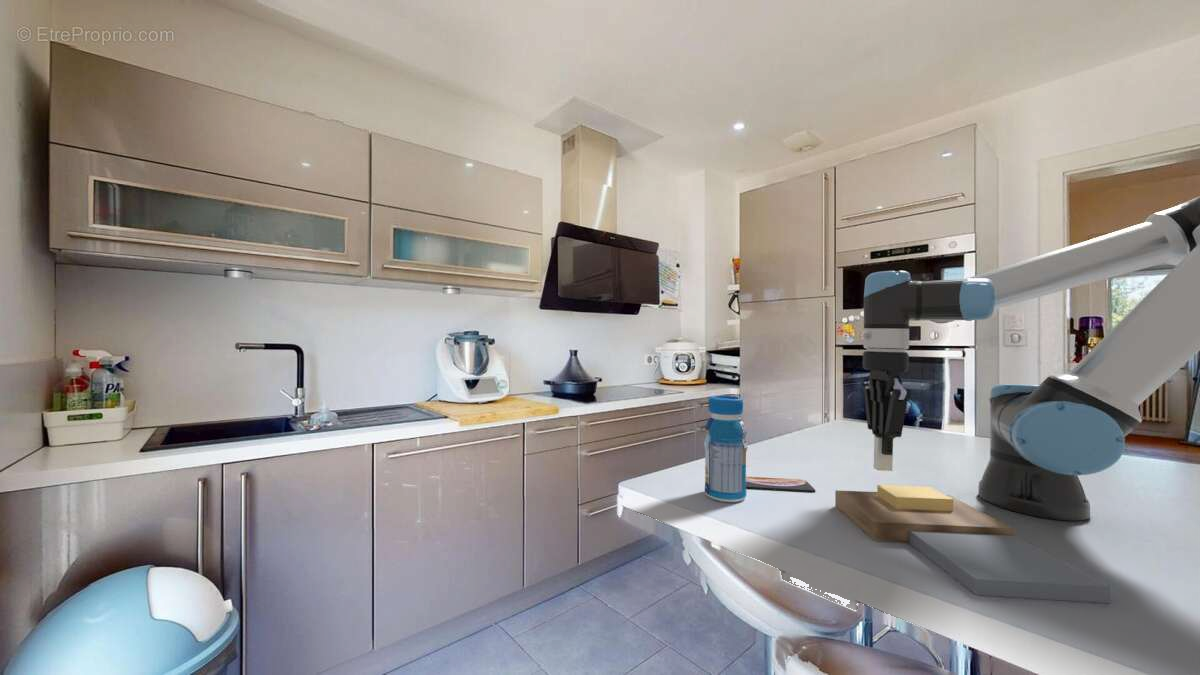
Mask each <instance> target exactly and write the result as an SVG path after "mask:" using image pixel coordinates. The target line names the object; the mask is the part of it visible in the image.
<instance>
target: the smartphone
mask: <svg viewBox="0 0 1200 675" xmlns="http://www.w3.org/2000/svg"><path fill="white" fill-rule="evenodd" d="M746 490H756V491H757V490H759V491H777V492H792V493H812V494H814V493H816V489H815V488H814V486H812V484H810V483H809V482H808V481H807V480H805V479H801V478H800V479H797V478H781V477H779V478H777V477H757V476H746Z"/></svg>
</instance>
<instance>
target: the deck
mask: <svg viewBox="0 0 1200 675" xmlns="http://www.w3.org/2000/svg"><path fill="white" fill-rule="evenodd" d="M945 495H946V496H948V497H950V498H952V499H953V511H939V510H916V509H896V508H895V507H893V506H892V505H890V504H889V503H887V502H886V501H884V500H883V499H881V498H880V497H878V496H877V491H865V490H864V491H863V490H862V491H861V490H859V491H855V490H837V489H836V490H835V494H834V496H835V497H834V498H835V499H834V500H835V505H834V506H835V507H836V508H837V509H838V510H839V511H840V512H841V513H843V515H845V516H846V517H847V518H848V519H850V521H852V522H853V524H855V525H856V526H857V527H858V528H859V529H861V530H862V531H863V532H864V533H865V534H866V535H867V536H868V537H870V539H872V540H873V541H875V542H890V543H908V544H910V531H927V532H948V533H969V534H989V535H1010V536H1014V528H1013V527H1011V526H1010V525H1008V524H1006V523H1004V522H1002V521H1000V520H998V519H996V518H994V517H992V516H990V515H989V514H986V513H985V512H982V511H980V510H979V509H977V508H974V507H973V506H971V505H969V504H967V503H965V502H963V501H962V500H960V499H958V498H956V497H953V496H952V495H950V494H945Z"/></svg>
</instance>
